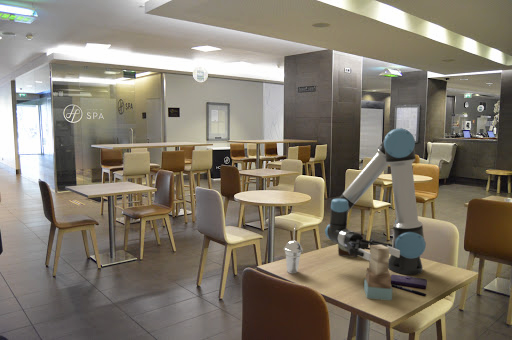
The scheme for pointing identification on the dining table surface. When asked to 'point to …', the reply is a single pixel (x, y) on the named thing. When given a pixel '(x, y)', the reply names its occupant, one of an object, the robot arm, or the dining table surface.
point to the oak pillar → (379, 259)
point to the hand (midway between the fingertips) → (384, 255)
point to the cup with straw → (293, 254)
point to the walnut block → (378, 280)
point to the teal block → (377, 292)
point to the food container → (343, 251)
